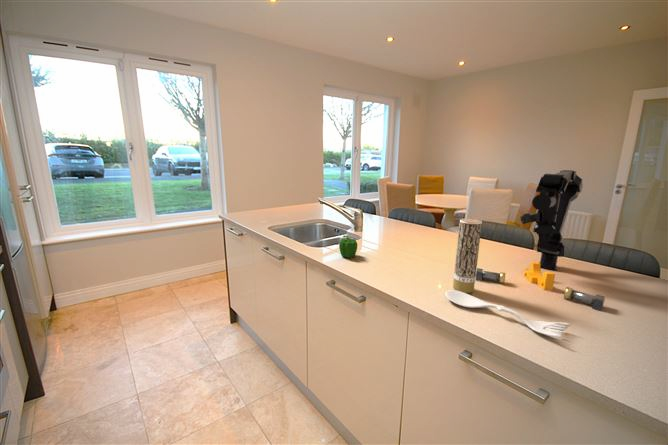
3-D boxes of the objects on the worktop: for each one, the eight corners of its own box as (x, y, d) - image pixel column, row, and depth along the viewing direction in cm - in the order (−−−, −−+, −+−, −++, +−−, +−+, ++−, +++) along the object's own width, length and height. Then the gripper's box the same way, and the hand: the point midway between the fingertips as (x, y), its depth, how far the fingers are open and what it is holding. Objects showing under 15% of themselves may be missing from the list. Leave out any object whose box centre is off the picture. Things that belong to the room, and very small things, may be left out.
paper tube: (449, 286, 107) (456, 218, 101) (467, 285, 107) (474, 218, 102) (458, 294, 100) (466, 222, 95) (477, 293, 101) (486, 222, 95)
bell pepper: (360, 255, 138) (361, 235, 135) (351, 260, 131) (352, 239, 129) (344, 252, 142) (345, 232, 140) (335, 257, 135) (336, 236, 133)
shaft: (562, 299, 97) (565, 288, 96) (565, 295, 100) (568, 285, 99) (601, 311, 90) (604, 299, 90) (603, 306, 93) (605, 295, 92)
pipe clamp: (523, 276, 116) (526, 261, 115) (535, 277, 116) (538, 262, 114) (538, 290, 105) (541, 273, 103) (551, 291, 104) (555, 274, 103)
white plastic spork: (561, 348, 73) (563, 336, 72) (440, 301, 96) (441, 292, 95) (567, 334, 79) (570, 322, 78) (452, 293, 102) (453, 284, 101)
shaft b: (503, 281, 111) (505, 271, 111) (504, 285, 108) (505, 275, 107) (475, 276, 116) (477, 266, 115) (475, 280, 112) (476, 270, 111)
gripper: (526, 202, 123) (520, 238, 127) (520, 208, 109) (514, 248, 112) (559, 205, 116) (552, 242, 120) (558, 212, 102) (550, 254, 106)
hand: (541, 246), depth 115 cm, fingers open, 4 cm apart
